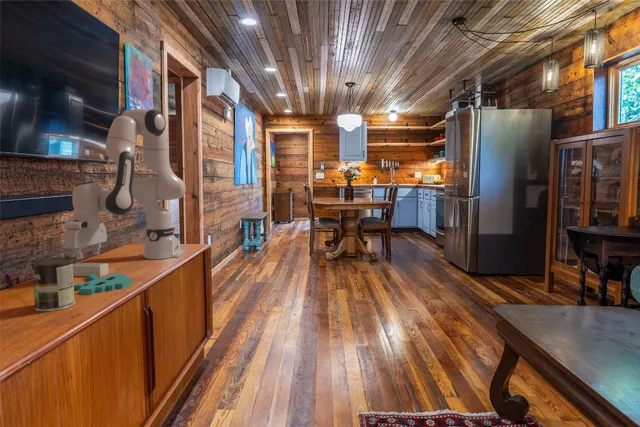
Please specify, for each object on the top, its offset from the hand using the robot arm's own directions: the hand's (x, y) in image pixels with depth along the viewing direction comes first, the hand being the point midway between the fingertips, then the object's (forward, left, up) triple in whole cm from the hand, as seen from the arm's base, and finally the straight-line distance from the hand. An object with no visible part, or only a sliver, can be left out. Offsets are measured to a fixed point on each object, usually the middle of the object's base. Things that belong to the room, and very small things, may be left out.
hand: (88, 256), depth 154 cm
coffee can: (+36, +15, -8) cm, 40 cm away
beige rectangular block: (-1, -1, -8) cm, 8 cm away
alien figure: (+14, +14, -8) cm, 22 cm away
